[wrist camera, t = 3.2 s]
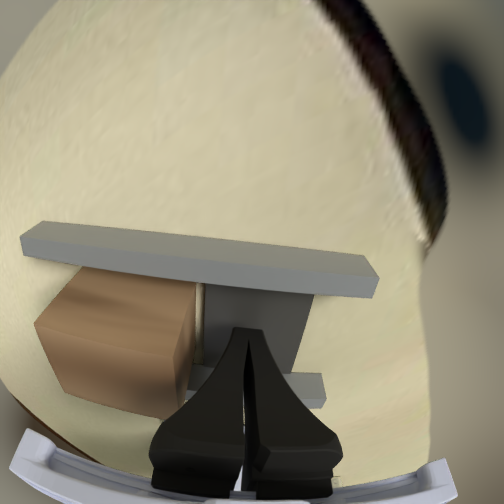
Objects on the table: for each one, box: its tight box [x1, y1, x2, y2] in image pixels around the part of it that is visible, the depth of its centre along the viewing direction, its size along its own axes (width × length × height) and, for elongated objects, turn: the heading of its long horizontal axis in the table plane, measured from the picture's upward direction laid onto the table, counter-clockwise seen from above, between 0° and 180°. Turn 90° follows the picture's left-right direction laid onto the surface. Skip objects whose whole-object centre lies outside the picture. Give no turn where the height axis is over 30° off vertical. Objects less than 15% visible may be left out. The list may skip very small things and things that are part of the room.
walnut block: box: [33, 266, 196, 420], centre depth 12 cm, size 4×6×5 cm
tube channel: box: [20, 221, 379, 409], centre depth 13 cm, size 9×16×2 cm, turn 83°
